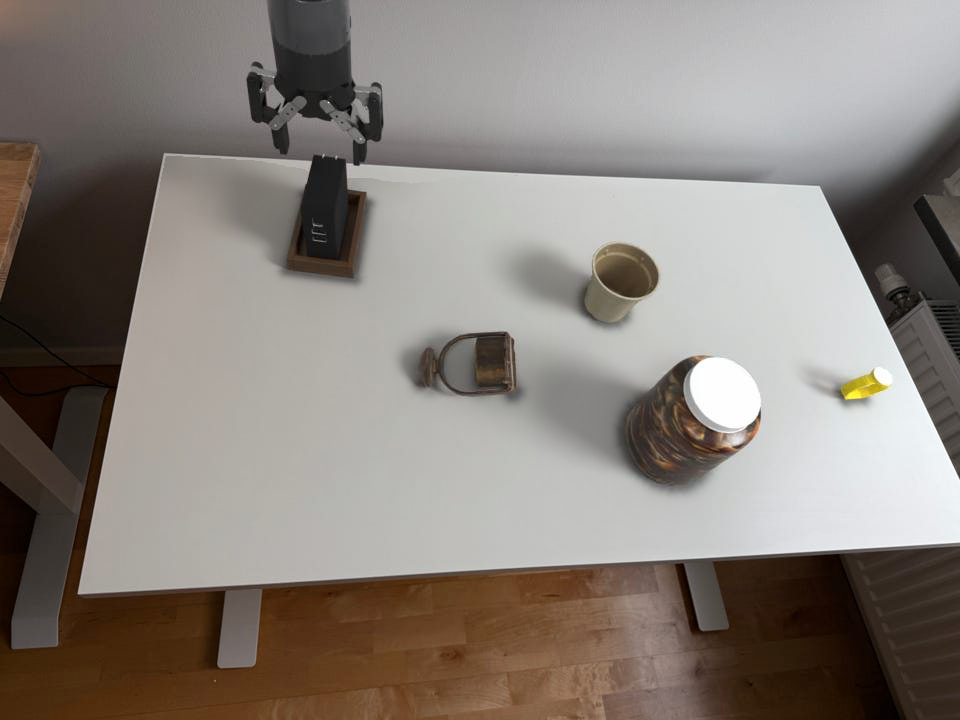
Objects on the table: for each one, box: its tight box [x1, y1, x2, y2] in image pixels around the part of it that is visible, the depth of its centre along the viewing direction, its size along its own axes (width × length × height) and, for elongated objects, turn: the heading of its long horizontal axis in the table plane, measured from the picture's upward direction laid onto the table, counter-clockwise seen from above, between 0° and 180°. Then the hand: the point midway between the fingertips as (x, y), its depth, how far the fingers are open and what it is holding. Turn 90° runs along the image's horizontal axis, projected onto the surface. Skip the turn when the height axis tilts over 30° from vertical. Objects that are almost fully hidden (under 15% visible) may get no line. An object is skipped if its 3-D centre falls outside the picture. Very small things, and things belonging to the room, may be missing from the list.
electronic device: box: [300, 153, 349, 261], centre depth 80 cm, size 4×10×10 cm, turn 178°
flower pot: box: [583, 241, 662, 324], centre depth 83 cm, size 9×9×9 cm
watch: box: [839, 366, 894, 401], centre depth 83 cm, size 6×3×6 cm, turn 99°
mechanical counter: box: [418, 330, 517, 397], centre depth 75 cm, size 7×13×10 cm
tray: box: [286, 182, 368, 279], centre depth 84 cm, size 9×14×2 cm, turn 177°
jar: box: [623, 354, 762, 487], centre depth 71 cm, size 12×12×15 cm
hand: (321, 155), depth 72 cm, fingers open, 8 cm apart
